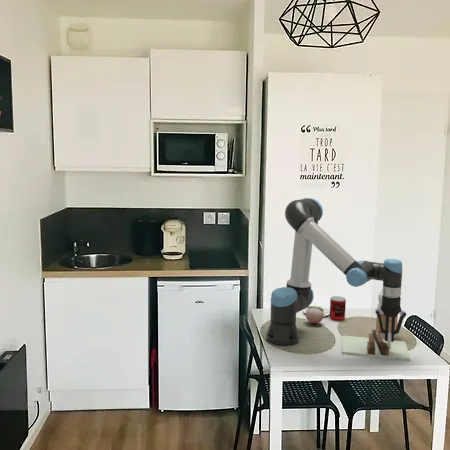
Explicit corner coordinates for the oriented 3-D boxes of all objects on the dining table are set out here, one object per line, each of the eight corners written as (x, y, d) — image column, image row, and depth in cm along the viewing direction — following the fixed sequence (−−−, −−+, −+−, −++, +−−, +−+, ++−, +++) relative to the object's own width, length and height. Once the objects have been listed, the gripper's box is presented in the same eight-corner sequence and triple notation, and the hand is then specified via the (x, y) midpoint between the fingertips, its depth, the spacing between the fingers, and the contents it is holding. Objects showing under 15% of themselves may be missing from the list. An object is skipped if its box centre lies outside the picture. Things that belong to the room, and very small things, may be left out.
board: (341, 353, 224) (342, 351, 224) (342, 337, 243) (342, 335, 243) (410, 360, 218) (410, 358, 218) (405, 343, 237) (405, 341, 237)
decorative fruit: (304, 326, 258) (305, 307, 256) (304, 321, 266) (305, 302, 264) (324, 327, 256) (324, 308, 255) (323, 322, 264) (324, 303, 263)
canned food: (334, 315, 275) (335, 295, 274) (347, 318, 270) (348, 298, 268) (326, 318, 270) (327, 298, 268) (339, 322, 264) (340, 301, 263)
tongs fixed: (367, 354, 222) (368, 344, 221) (366, 337, 240) (366, 328, 240) (377, 355, 221) (378, 345, 220) (375, 338, 240) (375, 329, 239)
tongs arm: (381, 354, 221) (381, 347, 220) (374, 340, 237) (375, 333, 237) (388, 355, 220) (389, 348, 220) (381, 340, 237) (382, 334, 236)
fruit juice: (371, 334, 247) (374, 277, 243) (385, 331, 252) (389, 275, 248) (385, 341, 239) (389, 282, 235) (400, 338, 244) (404, 280, 239)
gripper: (376, 296, 219) (373, 350, 223) (408, 299, 216) (405, 353, 220) (375, 292, 226) (372, 343, 230) (406, 294, 223) (403, 346, 227)
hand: (388, 348), depth 225 cm, fingers closed
